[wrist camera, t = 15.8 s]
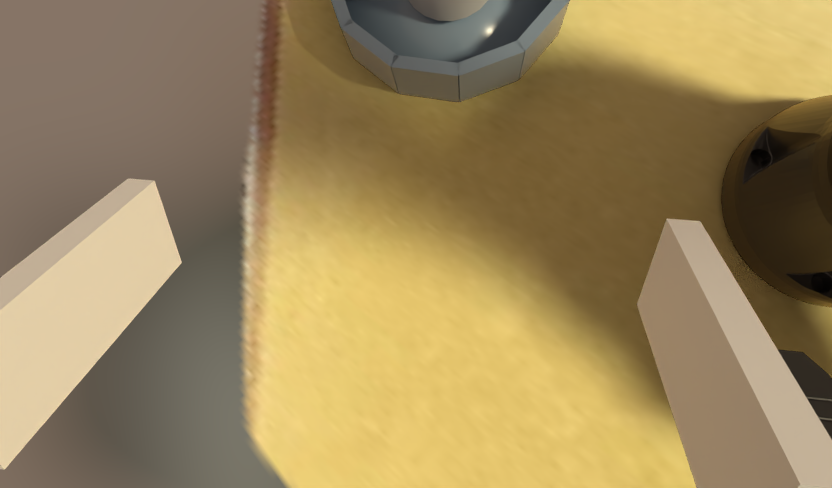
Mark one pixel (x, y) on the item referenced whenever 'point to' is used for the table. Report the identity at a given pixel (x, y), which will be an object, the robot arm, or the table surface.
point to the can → (447, 8)
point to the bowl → (449, 44)
